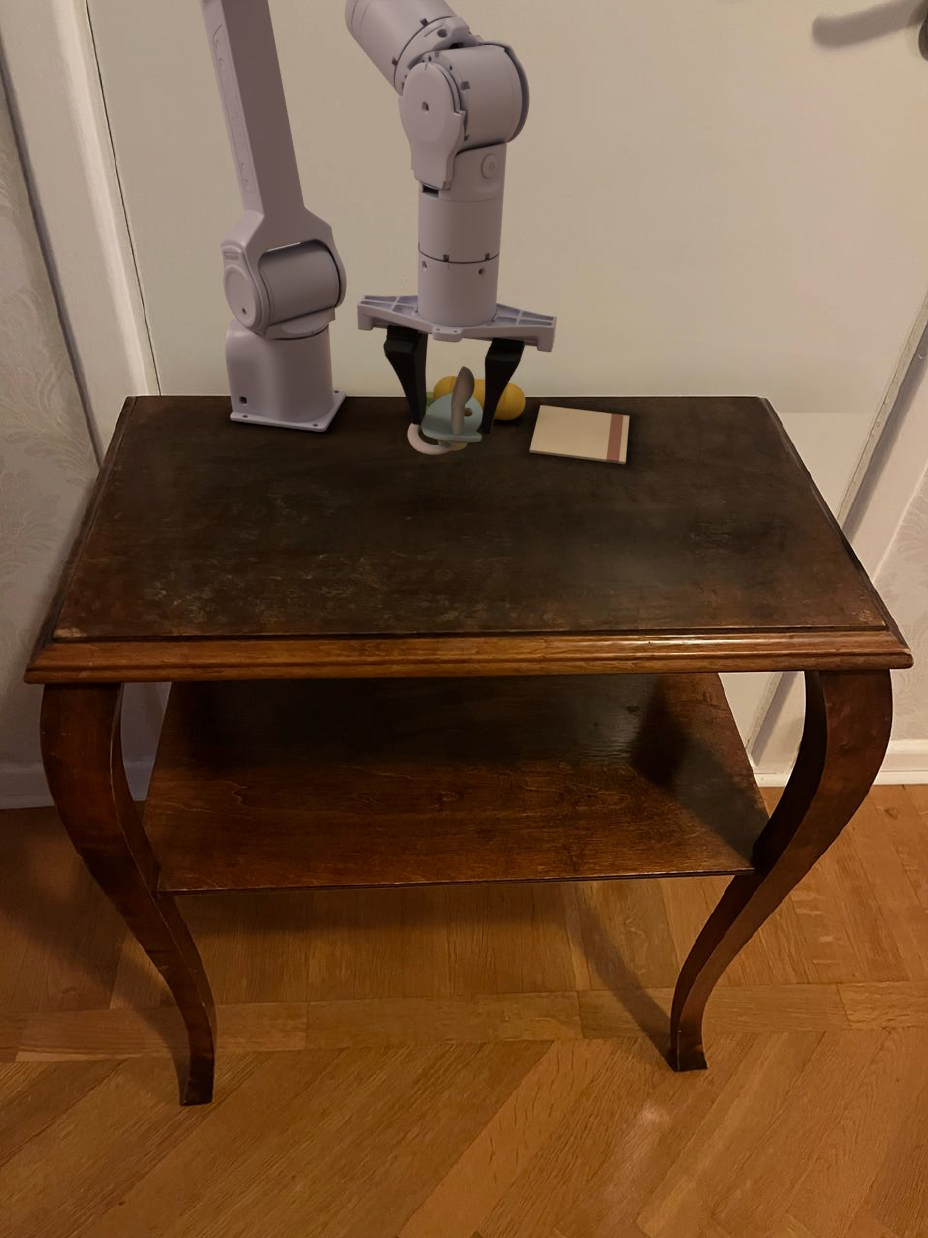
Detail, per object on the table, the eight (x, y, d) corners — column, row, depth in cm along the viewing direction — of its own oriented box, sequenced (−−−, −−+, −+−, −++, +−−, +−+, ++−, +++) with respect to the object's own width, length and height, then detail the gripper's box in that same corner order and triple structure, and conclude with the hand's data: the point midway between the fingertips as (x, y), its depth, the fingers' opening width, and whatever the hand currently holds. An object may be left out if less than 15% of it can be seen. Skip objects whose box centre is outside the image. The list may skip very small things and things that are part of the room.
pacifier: (404, 462, 70) (481, 464, 70) (401, 388, 66) (482, 390, 66) (411, 416, 76) (482, 418, 76) (409, 345, 72) (484, 347, 72)
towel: (529, 452, 85) (529, 449, 85) (540, 407, 92) (540, 404, 92) (625, 464, 84) (625, 461, 84) (629, 418, 91) (629, 415, 91)
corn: (409, 420, 89) (409, 386, 86) (422, 393, 93) (422, 360, 91) (520, 434, 88) (523, 400, 85) (527, 406, 92) (530, 373, 90)
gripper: (341, 257, 61) (350, 436, 70) (556, 281, 59) (536, 460, 68) (369, 224, 66) (374, 394, 75) (566, 245, 64) (547, 416, 73)
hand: (452, 423), depth 72 cm, fingers closed on pacifier, 5 cm apart
